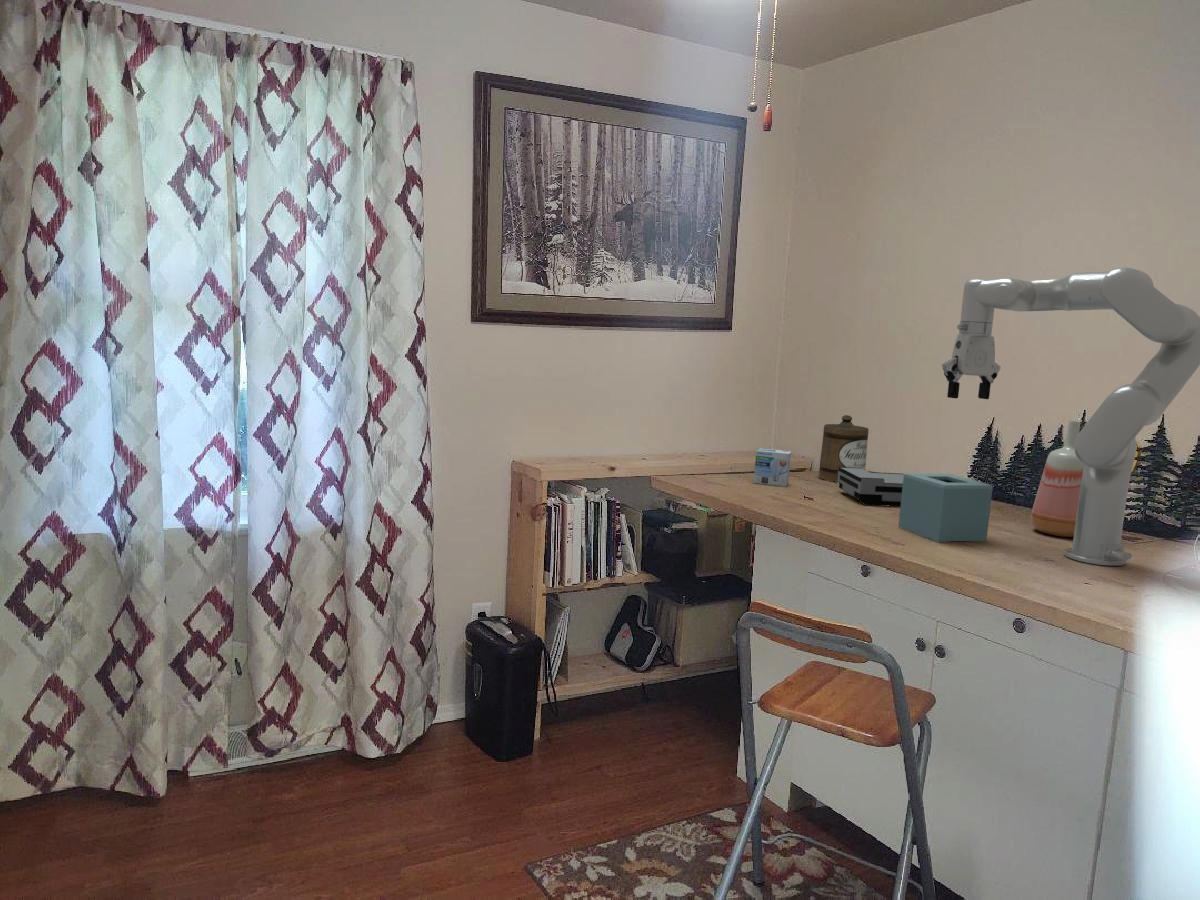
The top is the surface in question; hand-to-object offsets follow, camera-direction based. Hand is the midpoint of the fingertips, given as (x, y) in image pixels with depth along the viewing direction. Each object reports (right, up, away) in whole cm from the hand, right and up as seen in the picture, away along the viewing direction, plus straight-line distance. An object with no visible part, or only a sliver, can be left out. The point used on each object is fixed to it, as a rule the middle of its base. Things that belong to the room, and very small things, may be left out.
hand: (968, 398), depth 225 cm
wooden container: (-11, -23, +77) cm, 82 cm away
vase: (+27, -35, +8) cm, 45 cm away
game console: (-3, -29, +44) cm, 53 cm away
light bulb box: (-38, -24, +62) cm, 77 cm away
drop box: (-7, -34, 0) cm, 35 cm away
